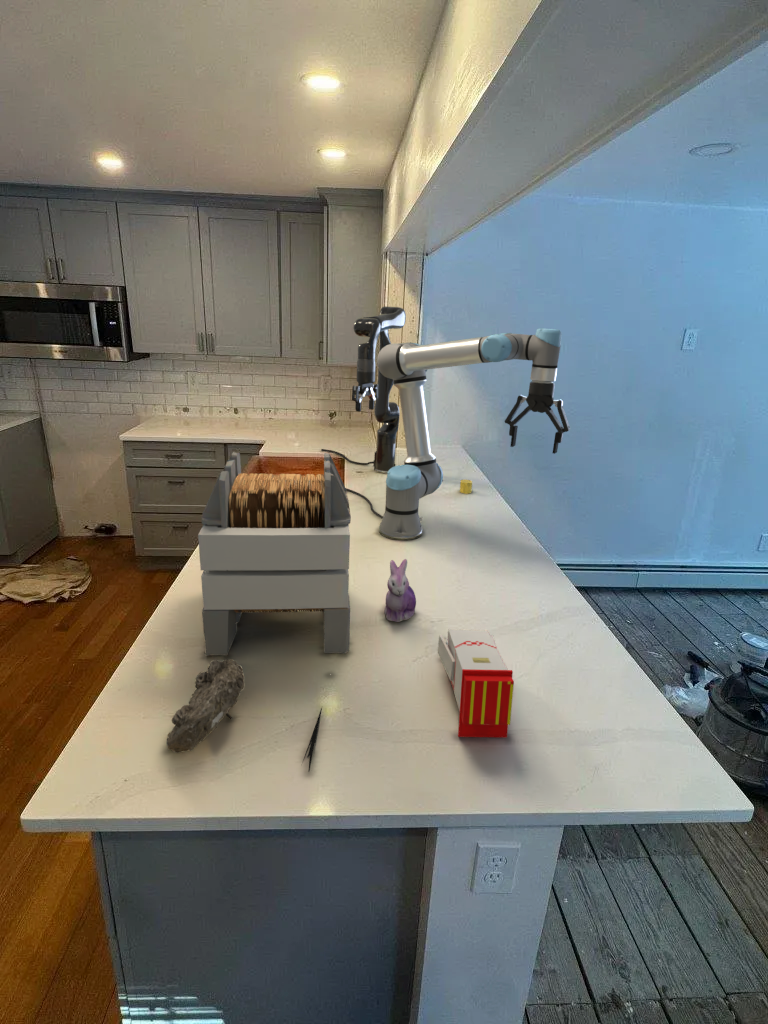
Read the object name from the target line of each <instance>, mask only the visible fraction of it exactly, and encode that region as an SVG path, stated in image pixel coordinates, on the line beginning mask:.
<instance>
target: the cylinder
mask: <svg viewBox="0 0 768 1024" xmlns="http://www.w3.org/2000/svg"><path fill="white" fill-rule="evenodd" d="M472 491H473V481H472V480H471V479H461V480H460V483H459V493H461V494H465V495H466V494H472Z"/></svg>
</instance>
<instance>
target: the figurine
mask: <svg viewBox="0 0 768 1024" xmlns="http://www.w3.org/2000/svg"><path fill="white" fill-rule="evenodd" d="M407 567H408V559H406V558H404V559H403V560H402V561H401V563H400V565H399V566H398V565H397V563H396V562H395V561H394V560H393V559H391V560H390V561H389V570H390V576H389V578H388V579H387V589H388V591H387V592H386V594H385V595H386V596H385V607H384V615H385V616H386V620H387V621H391V622H395V623H400V622H402V621H406V620H409V619H410V618H411V617H413V616H414V615H415V610H416V606H417V597H416V593H415V591H414V590H413V587H411V586H410V582H409V579H408V577H407V574H406V571H407Z"/></svg>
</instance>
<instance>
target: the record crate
mask: <svg viewBox="0 0 768 1024" xmlns="http://www.w3.org/2000/svg"><path fill="white" fill-rule="evenodd" d="M241 463H242V462H241V453H240V452H235V451H233V452H231V455H230V457H229V459H227V460H226V463H225V466H224V468H223V470H222V471H220V474H219V475H218V477H217V479H216V482H215V483H214V486H213V489H212V491H211V494H210V495H209V498H208V499H207V502H206V505H205V507H204V509H203V511H202V514H201V517H200V520H201V524H202V527H201V529H200V530H199V532H198V535H197V538H198V550H199V552H198V553H199V563H200V565H199V567H200V571H202V573H201V575H200V580H201V581H200V582H201V594H202V605H203V607H202V609H201V610H202V611H201V617H202V629H203V638H204V639H203V640H204V649H205V650H204V651H205V652H204V655H205V656H206V657H212V656H228V654H229V652H230V650H231V647H232V645H233V643H234V640H235V638H236V635H237V632H238V623H240V620H241V617H242V614H244V613H250V614H251V613H253V614H254V613H257V614H258V613H298V612H301V613H302V612H308V613H309V612H322V614H323V654H344V655H346V654H347V653H349V652H350V639H351V604H350V595H349V594H350V593H349V586H350V585H349V584H350V572H349V571H350V570H349V569H350V549H351V548H350V547H351V545H350V542H351V533H350V532H351V531H350V526H349V525H350V524H351V520H352V516H351V515H352V514H351V509H350V502H349V496H348V491H347V490H346V488H347V487H346V486H345V484H344V482H343V480H342V478H341V474H340V473H339V471H338V469H337V466H336V465H335V462H334V460H333V458H332V455H331V454H330V453H329V452H328V453H326V452H324V453H323V473H322V474H321V473H318V474H316V475H315V474H314V473H306V474H303V475H302V474H301V473H280V474H273V473H244V472H243V473H242V466H241Z"/></svg>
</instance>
